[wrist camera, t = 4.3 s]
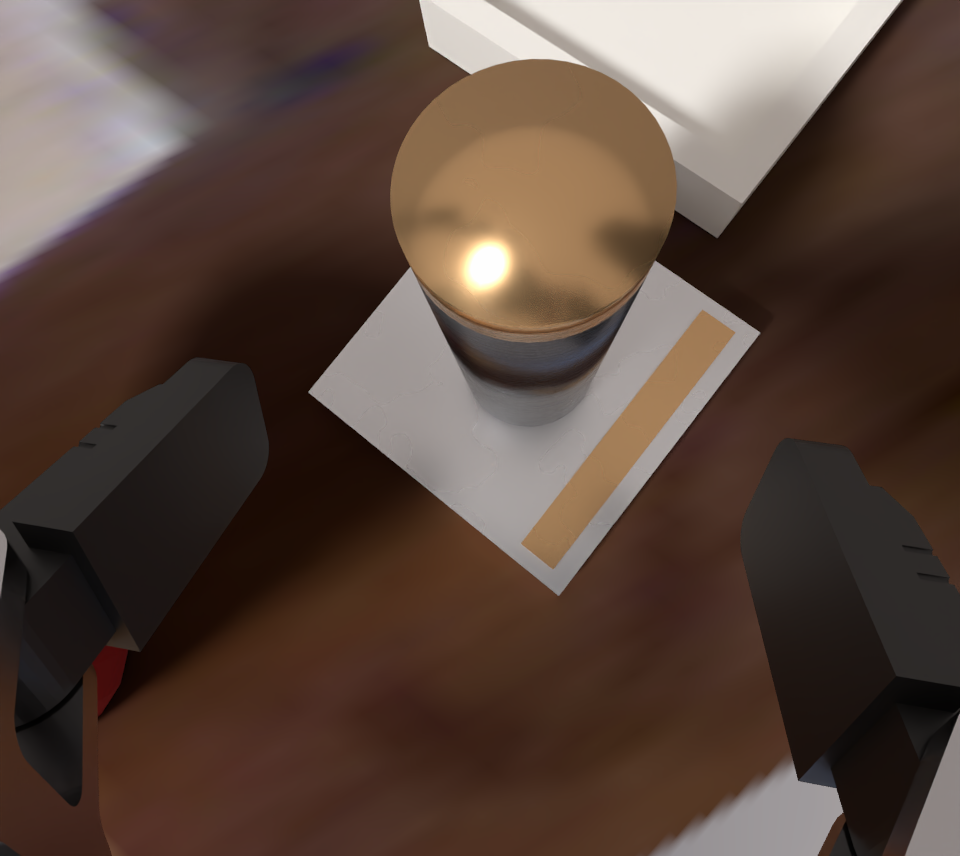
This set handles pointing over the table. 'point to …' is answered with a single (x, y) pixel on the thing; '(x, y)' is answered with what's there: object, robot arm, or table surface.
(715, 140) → the white square tray
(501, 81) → the battery cell
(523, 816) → the table surface
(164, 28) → the table surface
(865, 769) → the robot arm
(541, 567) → the plate
